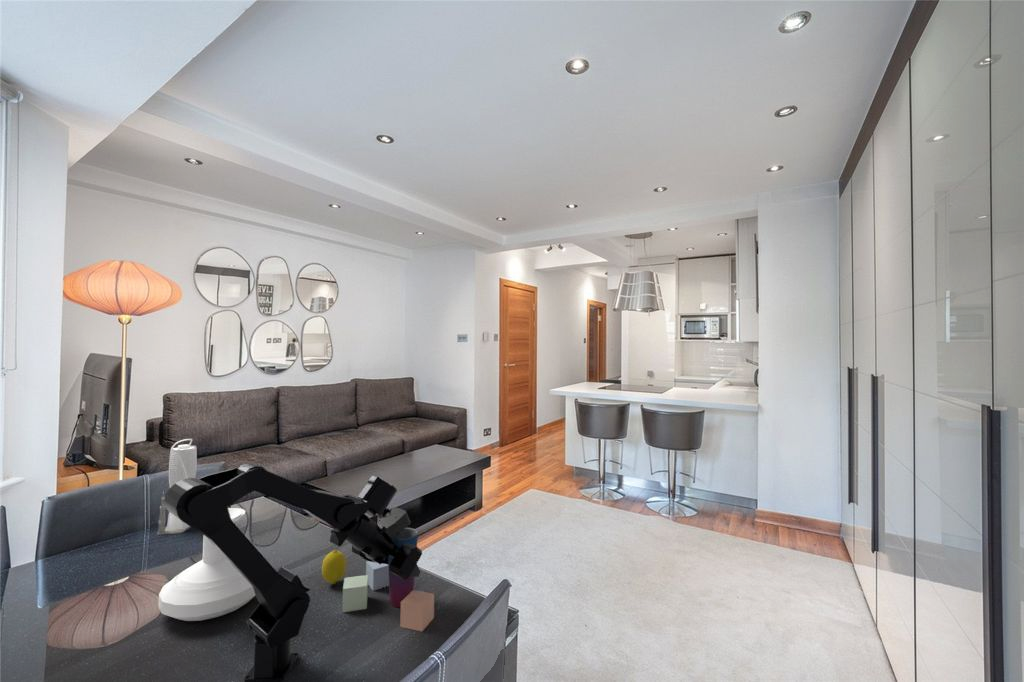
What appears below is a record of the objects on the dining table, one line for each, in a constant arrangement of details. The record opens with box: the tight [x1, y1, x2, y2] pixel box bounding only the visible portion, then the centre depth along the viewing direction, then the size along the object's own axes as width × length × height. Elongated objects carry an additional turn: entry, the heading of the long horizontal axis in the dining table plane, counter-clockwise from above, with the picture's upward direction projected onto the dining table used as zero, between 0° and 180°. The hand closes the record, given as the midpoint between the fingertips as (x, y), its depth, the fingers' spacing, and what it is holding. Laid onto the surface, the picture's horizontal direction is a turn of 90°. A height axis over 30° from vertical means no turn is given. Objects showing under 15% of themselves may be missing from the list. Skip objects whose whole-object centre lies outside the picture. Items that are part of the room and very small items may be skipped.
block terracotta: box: [399, 589, 435, 633], centre depth 90 cm, size 5×5×5 cm
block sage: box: [341, 574, 369, 613], centre depth 96 cm, size 5×5×5 cm
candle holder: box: [158, 507, 256, 622], centre depth 97 cm, size 20×20×19 cm
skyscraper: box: [156, 438, 198, 536], centre depth 139 cm, size 8×8×28 cm
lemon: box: [321, 549, 347, 585], centre depth 105 cm, size 6×6×8 cm
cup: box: [388, 527, 419, 608], centre depth 98 cm, size 7×7×15 cm
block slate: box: [365, 560, 389, 592], centre depth 106 cm, size 5×5×5 cm
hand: (407, 568), depth 99 cm, fingers open, 8 cm apart
